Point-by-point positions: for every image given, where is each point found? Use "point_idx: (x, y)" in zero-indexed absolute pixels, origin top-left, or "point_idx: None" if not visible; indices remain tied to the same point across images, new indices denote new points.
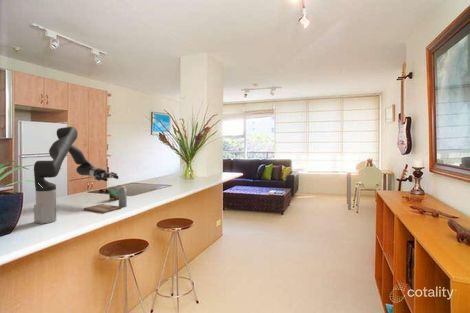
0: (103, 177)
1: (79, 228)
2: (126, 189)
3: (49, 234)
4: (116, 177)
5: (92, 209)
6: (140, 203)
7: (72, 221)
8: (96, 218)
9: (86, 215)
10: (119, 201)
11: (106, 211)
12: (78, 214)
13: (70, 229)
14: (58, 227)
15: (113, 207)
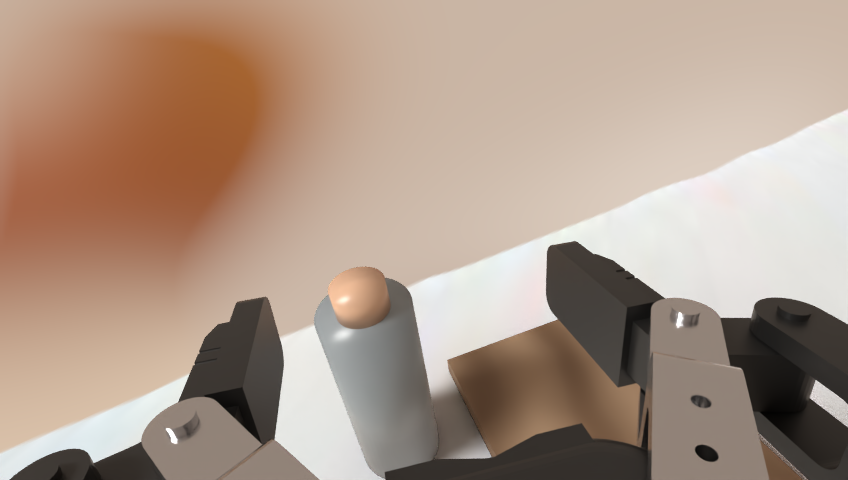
0: (641, 296)
1: (721, 168)
2: (329, 300)
3: (836, 154)
4: (271, 352)
5: None
6: None
7: (801, 246)
8: (654, 243)
9: None
10: (430, 394)
11: None
12: None
13: (760, 169)
14: (842, 198)
15: (511, 372)
